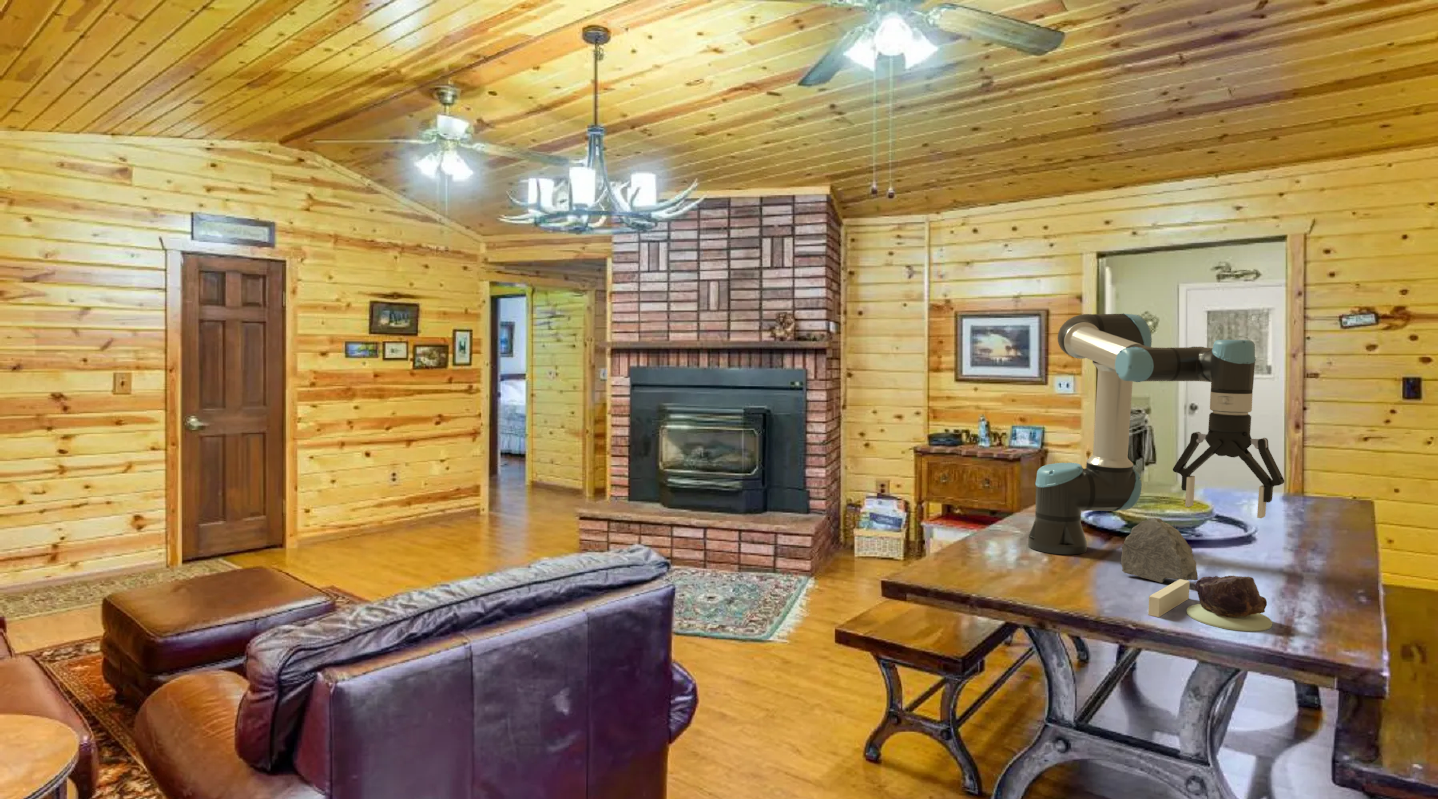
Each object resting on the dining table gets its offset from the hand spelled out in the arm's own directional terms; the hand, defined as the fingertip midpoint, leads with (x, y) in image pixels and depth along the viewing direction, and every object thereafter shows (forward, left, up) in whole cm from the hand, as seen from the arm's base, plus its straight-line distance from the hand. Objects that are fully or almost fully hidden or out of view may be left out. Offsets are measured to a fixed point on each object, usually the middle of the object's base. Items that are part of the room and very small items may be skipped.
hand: (1224, 511), depth 172 cm
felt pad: (+3, -6, -21) cm, 22 cm away
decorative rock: (-17, +12, -21) cm, 30 cm away
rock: (+3, -6, -21) cm, 22 cm away
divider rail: (-8, -7, -21) cm, 24 cm away
